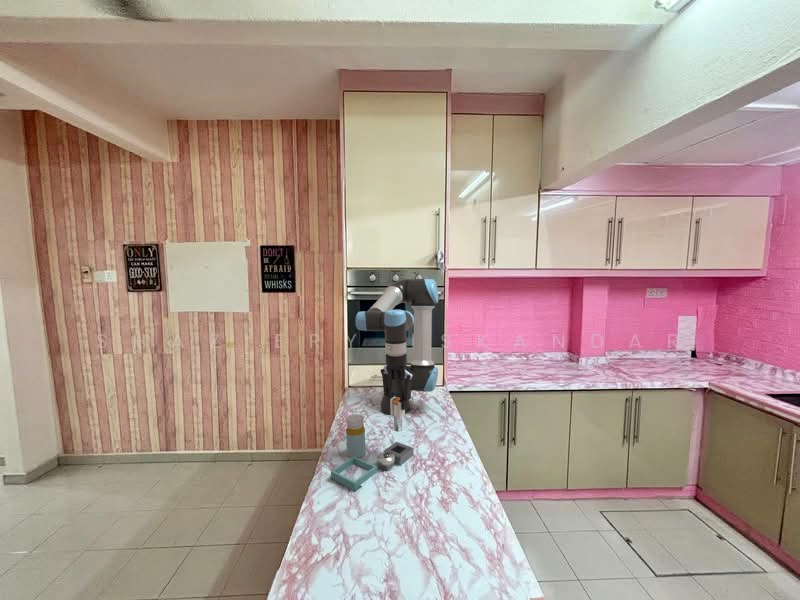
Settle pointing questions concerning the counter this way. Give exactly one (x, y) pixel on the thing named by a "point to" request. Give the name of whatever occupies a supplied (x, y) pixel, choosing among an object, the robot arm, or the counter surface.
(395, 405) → the pin
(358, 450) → the bottle
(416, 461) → the counter surface
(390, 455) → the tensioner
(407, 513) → the counter surface
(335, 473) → the tray
